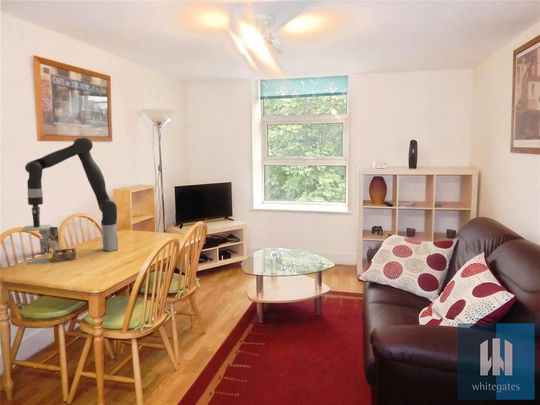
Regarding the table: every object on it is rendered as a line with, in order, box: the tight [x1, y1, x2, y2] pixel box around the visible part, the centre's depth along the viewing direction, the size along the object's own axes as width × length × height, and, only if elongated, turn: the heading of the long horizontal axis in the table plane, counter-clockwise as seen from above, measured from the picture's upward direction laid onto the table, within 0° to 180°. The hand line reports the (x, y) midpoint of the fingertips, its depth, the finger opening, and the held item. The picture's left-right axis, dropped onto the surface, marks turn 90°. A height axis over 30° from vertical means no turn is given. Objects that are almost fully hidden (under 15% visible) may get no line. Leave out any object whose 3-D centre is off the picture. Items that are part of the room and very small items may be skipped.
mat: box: [26, 257, 49, 266], centre depth 237 cm, size 10×12×1 cm
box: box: [51, 247, 77, 263], centre depth 243 cm, size 12×12×5 cm
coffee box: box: [38, 226, 61, 254], centre depth 260 cm, size 9×6×16 cm
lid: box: [22, 215, 51, 232], centre depth 235 cm, size 13×13×7 cm
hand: (36, 225), depth 235 cm, fingers closed on lid, 3 cm apart
